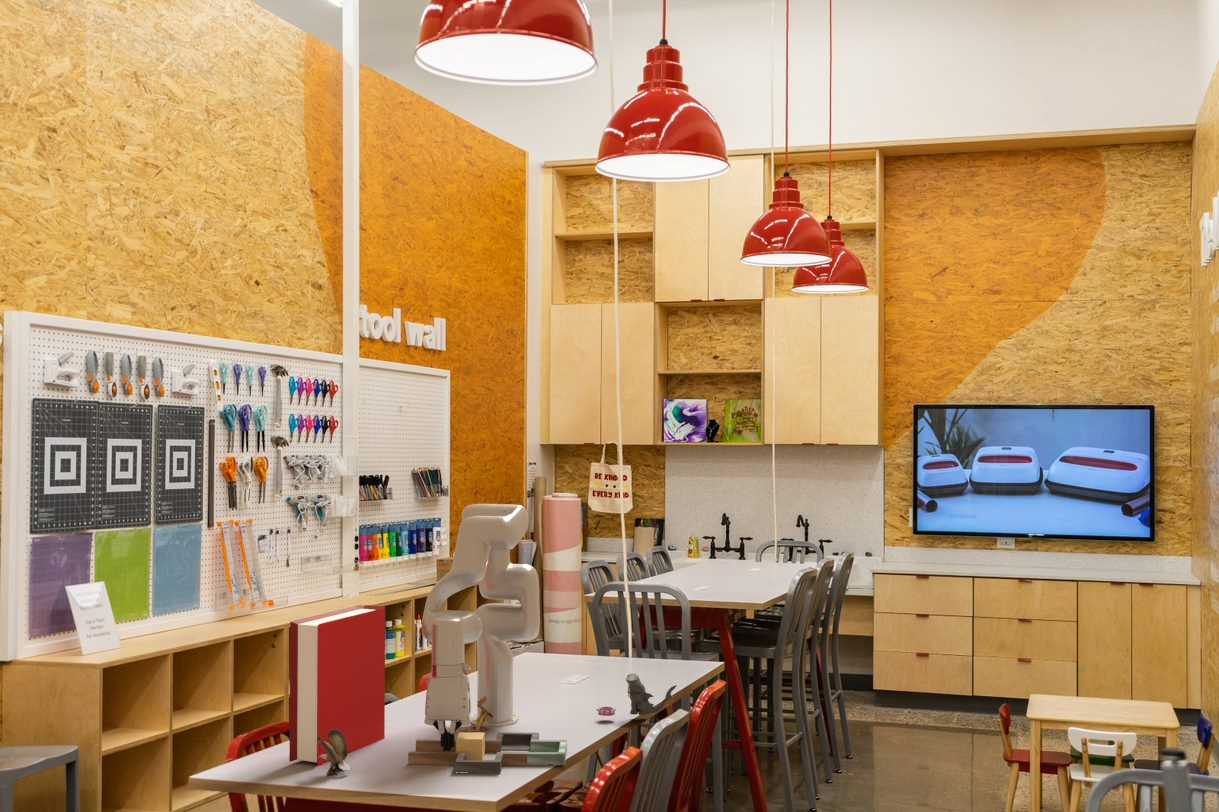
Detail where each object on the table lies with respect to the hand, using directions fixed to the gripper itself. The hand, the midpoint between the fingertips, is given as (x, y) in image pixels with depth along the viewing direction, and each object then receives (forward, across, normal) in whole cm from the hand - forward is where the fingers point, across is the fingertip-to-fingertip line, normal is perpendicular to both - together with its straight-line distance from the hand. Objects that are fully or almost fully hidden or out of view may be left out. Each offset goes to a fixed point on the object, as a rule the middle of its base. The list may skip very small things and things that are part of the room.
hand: (447, 749), depth 277 cm
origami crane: (+3, -5, -19) cm, 20 cm away
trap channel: (+2, -7, 0) cm, 7 cm away
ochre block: (+2, -5, 0) cm, 6 cm away
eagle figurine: (+2, +23, +13) cm, 27 cm away
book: (+2, +26, -7) cm, 27 cm away
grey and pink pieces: (+2, -44, -42) cm, 61 cm away
